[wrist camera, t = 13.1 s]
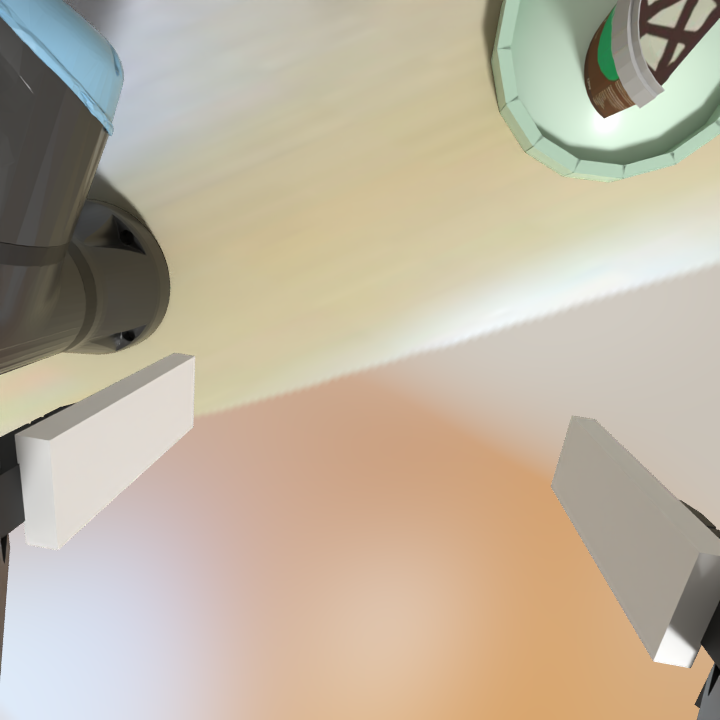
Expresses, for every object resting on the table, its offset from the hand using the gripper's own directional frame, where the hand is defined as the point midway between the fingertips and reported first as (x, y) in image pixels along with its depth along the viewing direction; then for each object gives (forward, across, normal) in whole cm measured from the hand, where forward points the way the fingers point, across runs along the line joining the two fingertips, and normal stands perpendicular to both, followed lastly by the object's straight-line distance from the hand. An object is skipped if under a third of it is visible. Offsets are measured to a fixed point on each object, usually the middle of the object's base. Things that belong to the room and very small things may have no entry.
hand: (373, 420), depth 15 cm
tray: (+29, +15, +23) cm, 40 cm away
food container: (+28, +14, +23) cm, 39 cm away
